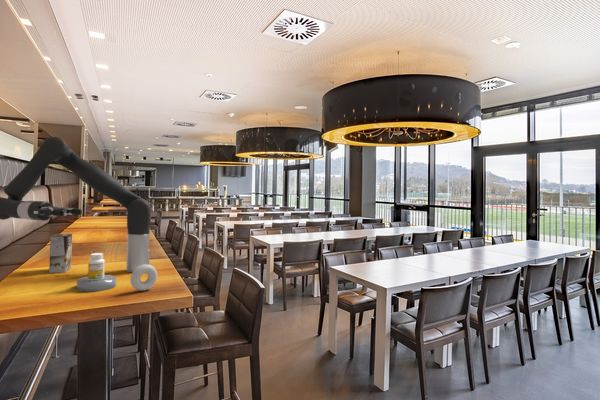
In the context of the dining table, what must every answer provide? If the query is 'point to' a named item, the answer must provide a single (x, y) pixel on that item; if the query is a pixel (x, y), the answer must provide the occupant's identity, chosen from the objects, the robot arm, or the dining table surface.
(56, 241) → the coffee box
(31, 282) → the dining table surface
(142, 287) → the donut
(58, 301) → the dining table surface
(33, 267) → the dining table surface
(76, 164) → the robot arm
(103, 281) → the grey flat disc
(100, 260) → the supplement bottle
